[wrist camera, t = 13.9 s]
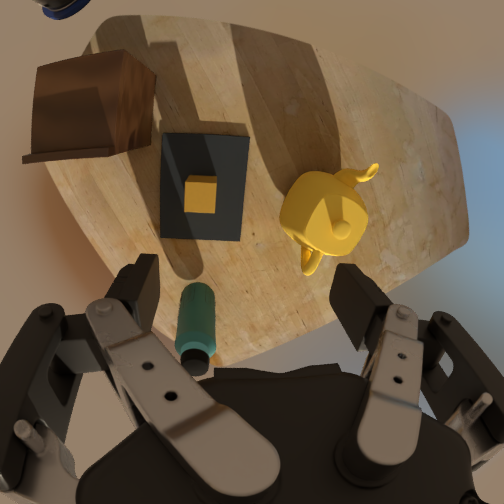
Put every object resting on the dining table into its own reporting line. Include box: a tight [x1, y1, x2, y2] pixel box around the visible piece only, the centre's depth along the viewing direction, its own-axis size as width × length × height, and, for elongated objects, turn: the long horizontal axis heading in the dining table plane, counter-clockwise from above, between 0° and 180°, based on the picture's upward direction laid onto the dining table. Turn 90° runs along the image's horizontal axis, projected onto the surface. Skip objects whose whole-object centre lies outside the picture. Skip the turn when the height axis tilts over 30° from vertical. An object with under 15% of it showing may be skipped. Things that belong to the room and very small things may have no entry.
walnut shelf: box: [22, 50, 157, 164], centre depth 30 cm, size 12×12×19 cm
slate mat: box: [160, 133, 250, 241], centre depth 45 cm, size 18×14×1 cm
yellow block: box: [184, 175, 217, 213], centre depth 42 cm, size 4×4×6 cm
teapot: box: [280, 163, 379, 275], centre depth 43 cm, size 13×20×12 cm
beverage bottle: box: [175, 282, 216, 376], centre depth 45 cm, size 6×7×20 cm
